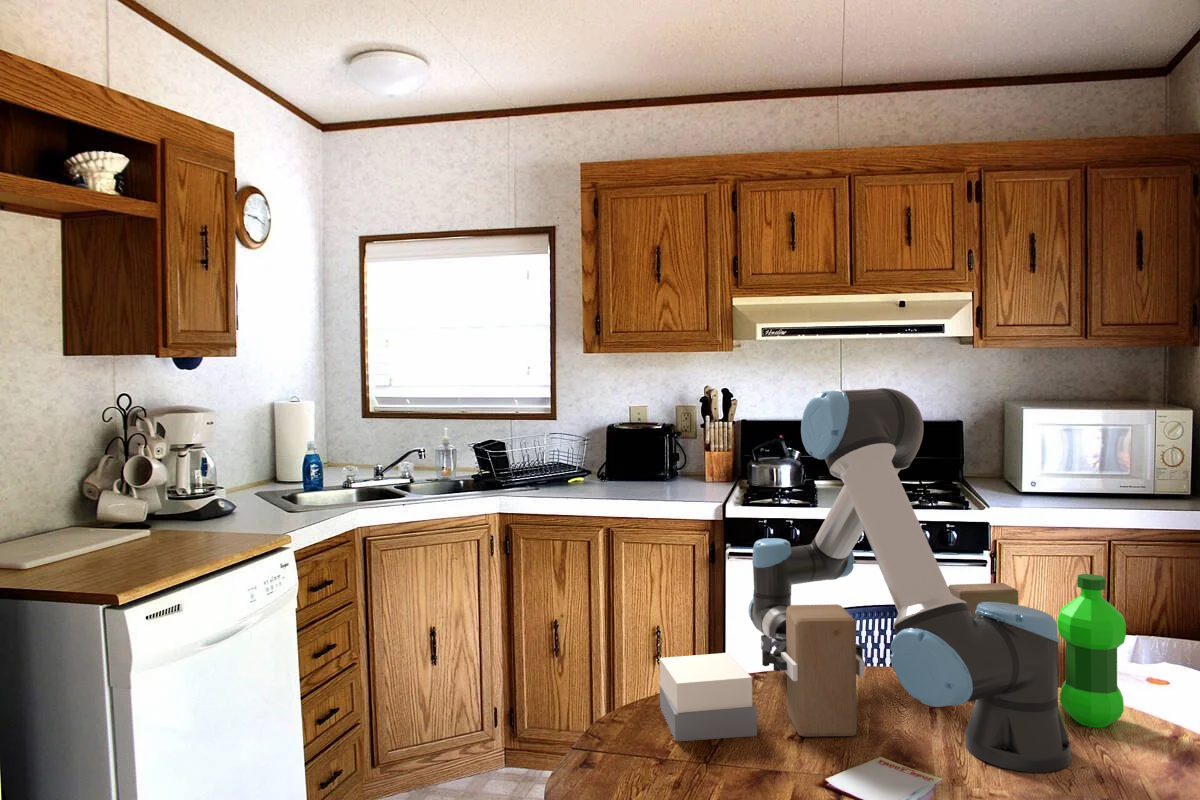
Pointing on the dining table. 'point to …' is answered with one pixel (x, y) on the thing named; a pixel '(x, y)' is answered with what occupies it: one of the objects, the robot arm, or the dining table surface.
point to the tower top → (705, 682)
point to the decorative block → (984, 594)
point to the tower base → (709, 722)
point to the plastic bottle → (1091, 655)
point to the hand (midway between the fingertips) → (828, 671)
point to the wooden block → (822, 670)
